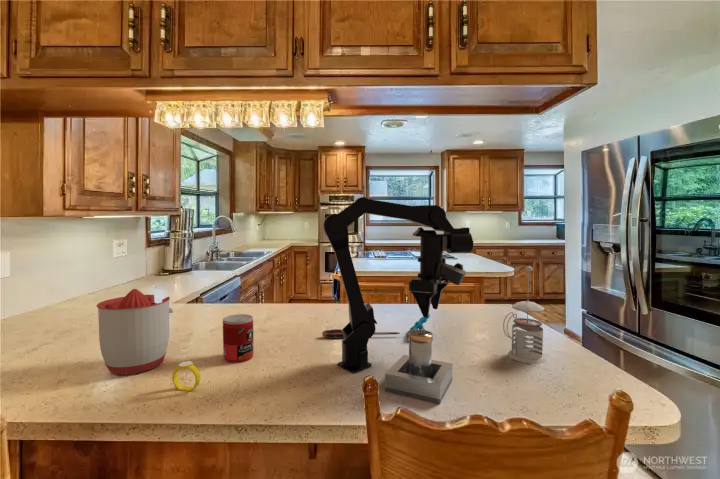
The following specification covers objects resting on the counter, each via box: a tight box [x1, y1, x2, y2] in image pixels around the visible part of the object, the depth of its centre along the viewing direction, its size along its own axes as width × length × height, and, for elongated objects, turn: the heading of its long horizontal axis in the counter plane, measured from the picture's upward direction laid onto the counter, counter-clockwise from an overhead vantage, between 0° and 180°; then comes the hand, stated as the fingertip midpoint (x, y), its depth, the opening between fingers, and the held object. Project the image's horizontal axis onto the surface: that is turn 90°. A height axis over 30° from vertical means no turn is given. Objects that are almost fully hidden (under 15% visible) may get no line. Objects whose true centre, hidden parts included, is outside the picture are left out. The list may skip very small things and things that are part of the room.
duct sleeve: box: [407, 329, 434, 379], centre depth 80 cm, size 5×5×11 cm
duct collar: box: [384, 354, 453, 405], centre depth 80 cm, size 12×12×4 cm
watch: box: [171, 360, 201, 392], centre depth 78 cm, size 6×3×6 cm, turn 80°
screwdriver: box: [321, 328, 401, 339], centre depth 113 cm, size 25×3×3 cm, turn 92°
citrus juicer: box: [96, 288, 174, 376], centre depth 91 cm, size 16×17×20 cm
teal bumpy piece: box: [406, 313, 431, 337], centre depth 113 cm, size 11×6×10 cm
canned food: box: [222, 313, 254, 364], centre depth 96 cm, size 8×8×11 cm
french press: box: [502, 265, 547, 365], centre depth 97 cm, size 10×12×25 cm
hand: (430, 312), depth 93 cm, fingers open, 9 cm apart
